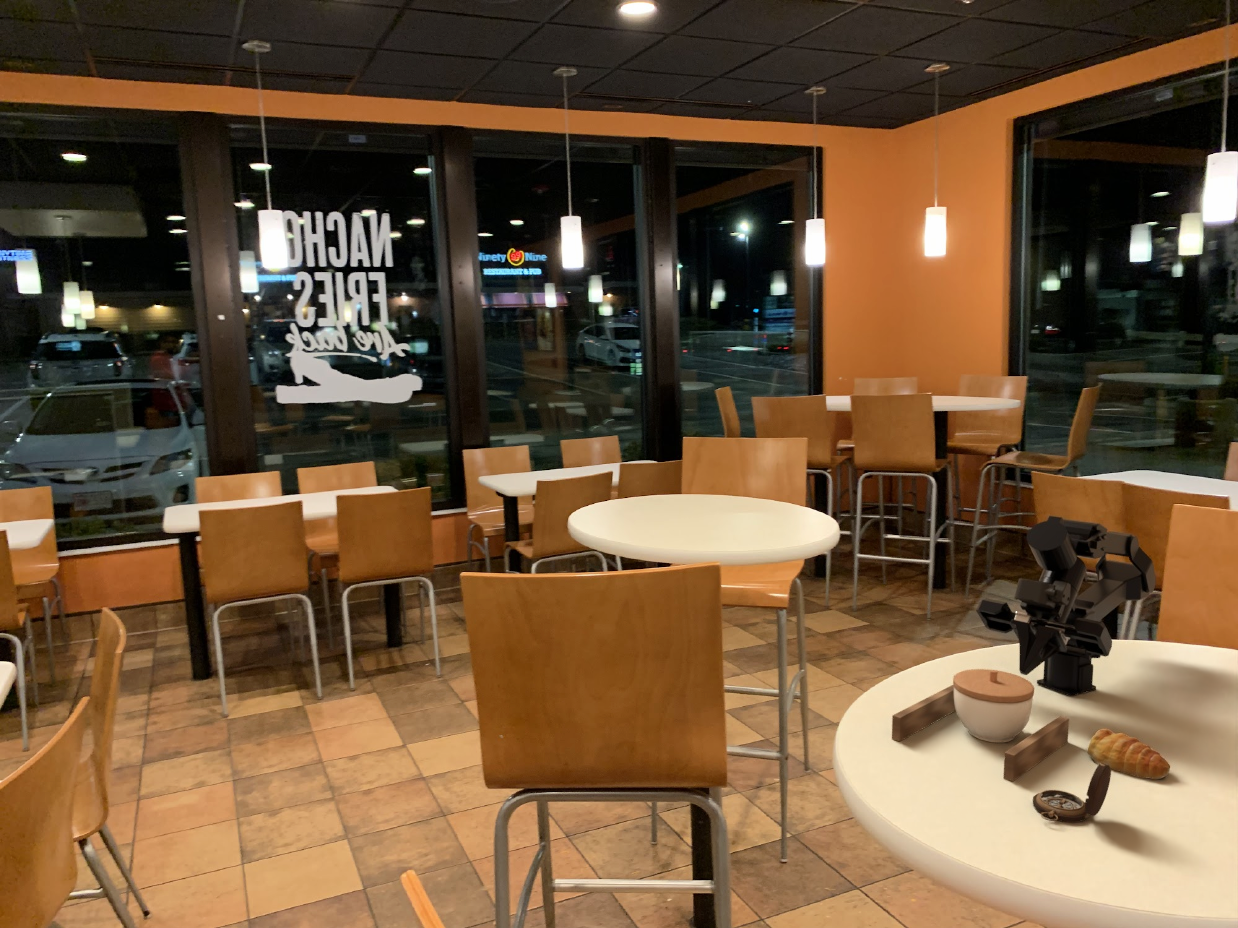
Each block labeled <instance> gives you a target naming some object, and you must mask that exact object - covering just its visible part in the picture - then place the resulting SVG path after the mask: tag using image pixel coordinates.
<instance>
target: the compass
mask: <svg viewBox="0 0 1238 928" xmlns="http://www.w3.org/2000/svg"><path fill="white" fill-rule="evenodd" d="M1094 763H1096V764H1097V767H1096V768H1095V770H1094V772H1093V774H1092V776H1091V779H1090V782H1089V784H1088V789H1087V792H1086V796H1087V797H1088V798H1085V801H1084V800H1083V799H1081V797H1079V796H1077V795H1075V794H1073V793H1070V792H1068V791H1065V790H1059V789H1046V790H1044V791H1040V792H1038V793H1036V794H1035V795H1033V796H1032V804H1033V807H1034V808H1035V810H1036V811H1038V812H1039V813H1040V817H1041V818H1042V819H1044V820H1045V821H1049V822H1055V821H1060V822H1065V823H1078V822H1082V821H1085V820H1087V819H1088V818H1089V817H1090V816H1092V817H1095V816H1096V815H1097V814H1098V813H1099V812H1100V811H1101V810H1102V807H1103V806H1104V805H1103V804H1104V802H1105V800H1106V797H1107V795H1108V790H1109V786H1110V783H1111V775H1112V769H1110V766H1109V765H1106V764H1104V763H1099V762H1095V761H1094ZM1044 816H1045V817H1044ZM1046 817H1047V818H1046Z"/></svg>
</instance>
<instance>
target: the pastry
mask: <svg viewBox="0 0 1238 928" xmlns="http://www.w3.org/2000/svg"><path fill="white" fill-rule="evenodd" d="M1086 750H1087V751H1086V753H1087V755H1089V757H1090V758H1091V759H1092V760H1093V761H1094V762H1095V763H1096V762H1099V763H1104V764H1106V765H1109V766H1110V769H1111V770H1113V771H1117V772H1121V773H1123V774H1127V775H1130V776H1134V777H1138V778H1140V779H1152V780H1159V779H1162V778H1164V777H1167V776H1168V774H1169V771H1170V769H1171V765H1170V764H1169V762H1168V761H1167V760H1166V758H1164V757H1163V756H1162V755H1161V754H1160V753H1159V752H1158V751H1156V749H1155V750H1154V749H1152V747H1151V746H1150V745H1149V744H1148V745H1147V744H1144V743H1142V742H1141V741H1140V739H1138V738H1137V737H1133V736H1128V734H1126V733H1123V732H1120V733H1115V732H1113V731H1112V730H1110V729H1109V728H1108V729H1107V728H1101V729H1099V730H1097V731H1096V733H1095V734H1094V735H1093V736H1092V737H1091V739H1090V741H1089V743H1088V747H1087V749H1086Z"/></svg>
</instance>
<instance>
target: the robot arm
mask: <svg viewBox="0 0 1238 928" xmlns="http://www.w3.org/2000/svg"><path fill="white" fill-rule="evenodd" d="M1026 541H1027V543H1028V546H1029V547H1030V550H1031V552H1032V554H1033V556H1034V558H1035V561H1036V562H1037V565H1038V566H1039V567H1040V568H1041V569H1043V570H1042V572H1041V575H1040V576H1039V577H1040V578H1039V579H1038V580H1036V579H1035V580H1031V579H1025V578H1018V582H1017V584H1016V585H1017V586H1016V590H1015V593H1014V600H1018V601H1020V604H1019V606H1020V609H1021V610H1023V611H1025V612H1021V611H1019V610H1018V611H1017V610H1015V612H1014V611H1012V609H1011V608H1010V605H1009V604H1008V602H1006V601H1002V600H996V599H992V598H984V599H982V600H980V602H979V603H978V605H977V607H976V609H975V610H976V613H977V615H978V616H979V618H980V620H981V622H982V623H983V625H984V627H985V628H986V629H988V630H990V631H993V632H997V633H1001V634H1007V633H1010V632H1012V631H1013V632H1014V633H1015V635H1016V638H1017V639H1018V644H1019V645H1018V647H1019V659H1018V662H1019V664H1018V665H1019V667H1018V668H1019V669H1018V670H1019V673H1020V674H1021V675H1024V676H1027V675H1029V674H1030V673H1031V672H1033V671H1034V670H1036V668H1038V667H1039V666H1040V665H1042V663H1043V677H1042V678H1040V679H1037V680H1036V684H1037V685H1039V686H1041V687H1045V688H1048V689H1050V690H1052V691H1055V692H1057V693H1062V694H1064V695H1066V696H1070V697H1072V696H1077V695H1081V694H1085V693H1088V692H1092V691H1095V690H1097V686H1096V685H1095V684H1094V685H1093V682H1094V681H1093V679H1094V678H1093V677H1094V664H1093V663H1092V659H1100V658H1101V656H1102V657H1108V656H1109V655H1110V652H1111V649H1112V647H1113V640H1112V637H1111V635H1110V633H1109V631H1108V629H1107V628H1108V627H1107V626H1106V625H1105V623H1104V622H1103V621H1101V620H1102V619H1103V618H1104V617H1106V616H1107V615H1108V614H1110V613H1111V612H1112V611H1113V610H1115V608H1117V607H1118V606H1119V605H1121V604H1122V603H1123V602H1125V601H1128V602H1129V601H1130V602H1131V601H1141V600H1143V599H1146V598H1148V596H1150V594H1152V593H1153V592H1154V590H1155V586H1156V580H1157V579H1156V571H1155V566H1154V562H1153V559H1152V558H1151V557H1150V556H1148V554H1147V552H1145V551H1144V550H1143V549H1142V548H1141V547H1140V544H1139V539H1138V537H1137V536H1136V535H1134V534H1132V533H1126V532H1119V531H1111V530H1109V531H1108V527H1105V526H1104V525H1103V524H1101V523H1097V522H1091V521H1083V520H1075V519H1067V518H1063V517H1062V516H1056V515H1055V516H1054V515H1048V518H1047V520H1044V521H1041V522H1039V523H1036V524H1035V525H1033V526H1032V527H1031V528H1030V529H1028V531H1027V534H1026ZM1107 555H1113V556H1119V557H1120V556H1121V557H1126V558H1128V559H1129V562H1124V561H1120V560H1119V561H1118V560H1111V559H1107ZM1082 558H1086V559H1092V560H1096V559H1097V562H1096V564H1095V566H1094V567H1095V571H1096V575H1097V580H1098V581H1097V582H1095V583H1094V584H1093V585H1091V586H1089V588H1087V589H1086V590H1085V591H1083V592H1082V593H1080V594H1079V595H1078V593H1079V591H1080V589H1081V586H1082V583H1083V582H1086V581H1088V574H1087V571H1088V568H1087V566H1086V564H1085V561H1083V559H1082Z"/></svg>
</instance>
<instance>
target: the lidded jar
mask: <svg viewBox="0 0 1238 928" xmlns="http://www.w3.org/2000/svg"><path fill="white" fill-rule="evenodd" d="M952 685H953V686H954V705H955V710H956V711H955V713H956V716H957V718H958V719H959V721H960V722H961V724H962V725H963V726H964V727H965V728H966V730H967V732H968V733H969V735H971V736H972V737H974V738H976V739H978V740H981V741H984V742H989V743H1008V742H1010V741H1012V740H1013V739H1014V738H1015V737H1016V736H1017V735H1018V734H1020V733H1021V732H1022V731H1023V730H1024V729H1025V727H1026V726H1027V724H1028V722H1030V717H1031V714H1032V709H1033V701H1034V694H1035V687H1034V685H1033V684H1032V682H1031V681H1029V680H1028V679H1026V678H1025V677H1022V676H1019V675H1017V674H1014V673H1012V672H1008V671H1003V670H996V669H988V668H987V669H985V668H980V669H979V668H975V669H974V668H973V669H966V670H965V669H964V670H962V671H959V672H956V674H954V675H953V677H952Z"/></svg>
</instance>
